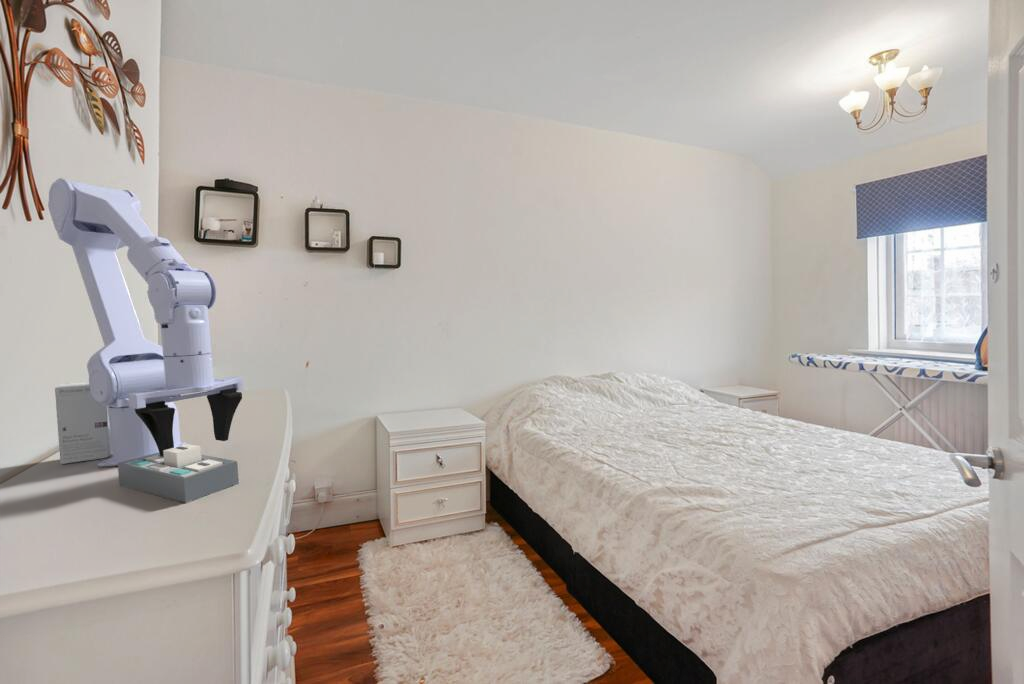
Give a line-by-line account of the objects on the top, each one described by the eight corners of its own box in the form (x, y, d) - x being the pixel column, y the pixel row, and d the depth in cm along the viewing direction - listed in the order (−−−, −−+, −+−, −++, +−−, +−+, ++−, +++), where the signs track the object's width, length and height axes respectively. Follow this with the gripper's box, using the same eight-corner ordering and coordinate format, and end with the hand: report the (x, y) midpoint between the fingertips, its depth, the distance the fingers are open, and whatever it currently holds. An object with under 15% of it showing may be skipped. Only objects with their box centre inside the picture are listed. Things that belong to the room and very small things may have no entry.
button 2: (185, 482, 59) (184, 465, 59) (209, 474, 62) (208, 458, 62) (200, 486, 58) (198, 468, 58) (223, 477, 61) (222, 461, 61)
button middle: (164, 466, 61) (163, 449, 61) (188, 458, 64) (187, 443, 64) (177, 468, 60) (176, 452, 60) (201, 461, 63) (200, 445, 62)
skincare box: (59, 465, 71) (51, 387, 70) (67, 458, 75) (59, 384, 74) (112, 457, 75) (104, 383, 74) (116, 450, 78) (109, 379, 77)
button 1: (146, 473, 63) (145, 457, 63) (170, 466, 66) (169, 451, 66) (159, 476, 62) (157, 460, 62) (183, 468, 65) (181, 453, 64)
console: (119, 485, 62) (117, 461, 62) (173, 468, 68) (171, 447, 68) (185, 503, 56) (183, 476, 55) (238, 483, 61) (237, 459, 61)
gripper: (145, 361, 58) (155, 466, 59) (253, 349, 71) (259, 436, 72) (116, 360, 61) (125, 460, 62) (224, 349, 74) (231, 432, 75)
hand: (195, 447), depth 68 cm, fingers open, 7 cm apart
